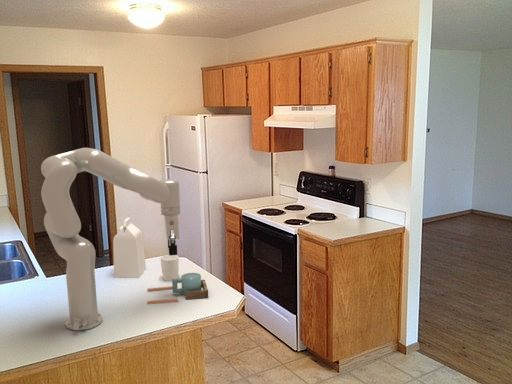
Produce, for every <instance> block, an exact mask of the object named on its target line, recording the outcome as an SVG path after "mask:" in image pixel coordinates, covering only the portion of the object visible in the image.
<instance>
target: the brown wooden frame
mask: <svg viewBox="0 0 512 384" xmlns="http://www.w3.org/2000/svg"><path fill="white" fill-rule="evenodd" d="M184 297H185V301H186V300H187V301H188V300H198V299H206V298H207V299H208V298H209V288H208V285H207V282H206V280H205V279H201V290H198V291H187V292H185V296H184Z"/></svg>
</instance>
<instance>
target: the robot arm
mask: <svg viewBox="0 0 512 384" xmlns="http://www.w3.org/2000/svg"><path fill="white" fill-rule="evenodd" d="M40 170H41V174H42V176H43V177H44V178H45V179H44V180H43V183H42V186H41V190H40V193H41V194H40V195H41V200H42V204H43V205H44V209H45V211H46V213H45V214H44V217H43V225H44V228H45V231H46V233H47V234H48V237H49V239H50V242H51V244H52V246H53V248H54V250H55V252H56V254H57V255H58V256H60V258H61V259H64V260H65V261H66V269H65V270H66V271H65V273H66V274H65V279H66V288H67V289H66V290H67V302H68V303H67V304H68V313H69V317H68V319H66V321H65V327H66V328H67V329H68V330H71V331H85V330H90V329H93V328H96V327H98V326H99V325H100V324H101V323H102V322H103V321H104V319H103V315H102V314H101V313H99V310H98V301H97V299H98V298H97V296H98V295H97V288H96V286H97V285H96V273H95V268H96V267H95V264H96V249H95V247H94V245H93V243H92V242H91V241H90V240H88V239H86V238H85V237H83V236H81V235H80V234H79V233H80V232H81V229H82V223H81V219H80V217H79V215H78V212H77V211H76V208H75V206H74V203H73V201H72V198H71V195H70V194H71V193H70V189H71V186H72V184H73V182H74V180H75V179H76V177H77V174H79V173H80V174H81V173H83V172H87V173H90V174H91V175H94V176H96V177H98V178H100V179H102V180H104V181H105V182H108V183H110V184H111V185H114V186H116V187H119V188H121V189H124V190H128V191H130V192H134V193H136V194H139V196H140V197H141V198H143V199H144V200H146V201H150V202H154V203H157V204H160V211H161V212H160V213H161V214H160V215H161V216H163V217H164V230H165V234H166V235H165V236H166V240H167V248H168V255H177V256H178V245H177V240H179V239H180V228H179V227H180V226H179V224H180V223H179V215H180V214H181V201H180V200H181V197H180V183H179V182H180V181H178V180H177V179H175V178H165V179H162V180H158V179H156V178H154V177H152V176H151V175H148V174H146V173H144V172H142V171H140V170H138V169H136V168H134V167H132V166H131V165H128V164H126V163H124V162H122V161H120V160H118V159H116V158H115V157H112V156H111V155H109V154H108V153H105V152H103V151H102V150H99V149H96V148H90V147H81V148H77V149H74V150H70V151H67V152H62V153H58V154H55V155H51V156H49V157H47V158H45V159H44V160H43V161H42V163H41V165H40Z"/></svg>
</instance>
